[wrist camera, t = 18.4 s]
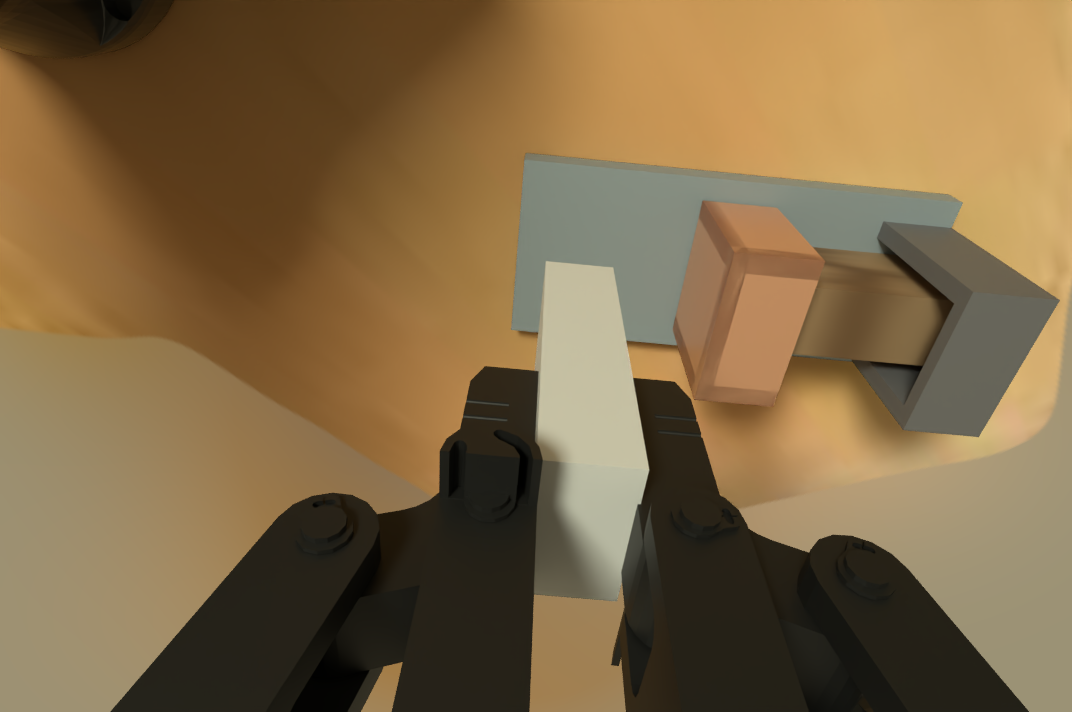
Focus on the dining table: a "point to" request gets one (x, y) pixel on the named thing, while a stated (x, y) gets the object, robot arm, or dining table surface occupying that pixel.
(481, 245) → the dining table surface
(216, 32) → the dining table surface
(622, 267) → the board
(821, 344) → the brown block
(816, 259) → the block
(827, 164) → the dining table surface
